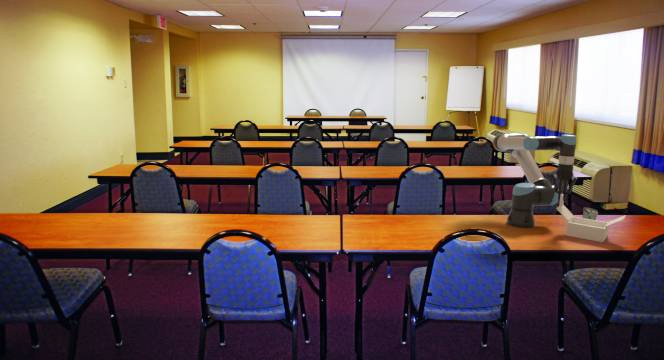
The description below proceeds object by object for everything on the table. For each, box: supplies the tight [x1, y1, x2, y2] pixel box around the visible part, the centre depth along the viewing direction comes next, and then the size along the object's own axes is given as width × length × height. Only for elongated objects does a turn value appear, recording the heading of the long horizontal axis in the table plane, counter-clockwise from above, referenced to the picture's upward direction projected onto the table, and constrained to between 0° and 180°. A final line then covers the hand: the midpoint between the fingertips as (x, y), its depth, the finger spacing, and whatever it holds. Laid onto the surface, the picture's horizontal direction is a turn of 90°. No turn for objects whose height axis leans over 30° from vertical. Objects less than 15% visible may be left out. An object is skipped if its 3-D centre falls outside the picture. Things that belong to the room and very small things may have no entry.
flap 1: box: [555, 204, 574, 222], centre depth 279 cm, size 9×13×1 cm
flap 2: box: [605, 215, 627, 228], centre depth 265 cm, size 9×13×1 cm
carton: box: [565, 216, 610, 243], centre depth 273 cm, size 18×15×8 cm
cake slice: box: [582, 207, 599, 221], centre depth 290 cm, size 12×6×10 cm, turn 168°
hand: (561, 205), depth 280 cm, fingers closed
